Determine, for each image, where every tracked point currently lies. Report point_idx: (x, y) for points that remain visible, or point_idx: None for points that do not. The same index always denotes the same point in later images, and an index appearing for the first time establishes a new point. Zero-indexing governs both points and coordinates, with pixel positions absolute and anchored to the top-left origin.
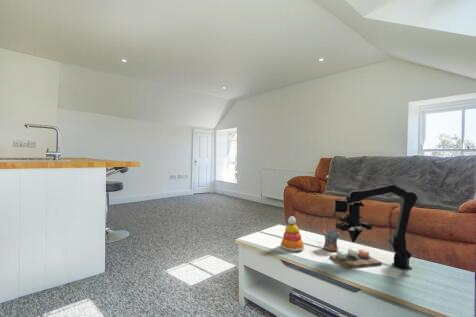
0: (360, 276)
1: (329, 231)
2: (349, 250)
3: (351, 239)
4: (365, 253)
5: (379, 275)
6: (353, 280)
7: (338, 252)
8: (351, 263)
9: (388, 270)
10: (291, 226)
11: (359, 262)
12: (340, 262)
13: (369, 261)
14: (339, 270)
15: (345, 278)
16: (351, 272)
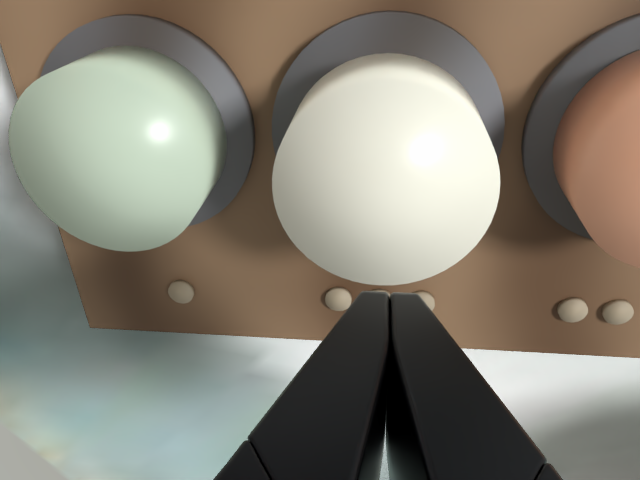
0: (178, 440)
1: None
2: (275, 194)
3: (332, 331)
4: (622, 255)
5: (384, 469)
6: (74, 465)
7: (39, 129)
8: (206, 296)
9: (601, 433)
10: None
11: (338, 309)
12: (62, 238)
13: (538, 305)
14: (16, 316)
15: (17, 431)
16: (131, 374)
